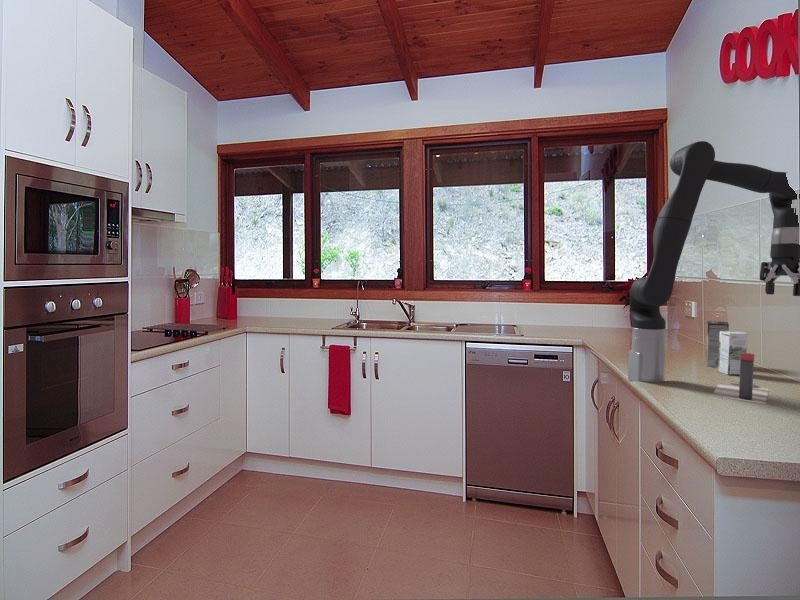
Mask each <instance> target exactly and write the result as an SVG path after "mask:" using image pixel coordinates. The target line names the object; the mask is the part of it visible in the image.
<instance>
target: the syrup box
mask: <svg viewBox="0 0 800 600" xmlns="http://www.w3.org/2000/svg"><path fill="white" fill-rule="evenodd" d="M748 335H749V334H748V333H747V332H744V331H742V330H741V331H740V330H729V331H720V336H719V357H718V367H717V372H719V373H721V374H724V375H727V376H740V353H748V352H747V349H748V348H747V347H748Z"/></svg>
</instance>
